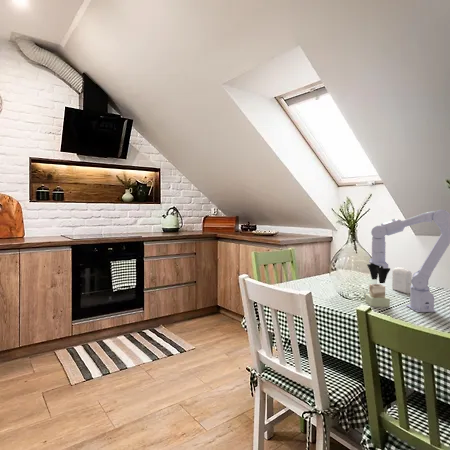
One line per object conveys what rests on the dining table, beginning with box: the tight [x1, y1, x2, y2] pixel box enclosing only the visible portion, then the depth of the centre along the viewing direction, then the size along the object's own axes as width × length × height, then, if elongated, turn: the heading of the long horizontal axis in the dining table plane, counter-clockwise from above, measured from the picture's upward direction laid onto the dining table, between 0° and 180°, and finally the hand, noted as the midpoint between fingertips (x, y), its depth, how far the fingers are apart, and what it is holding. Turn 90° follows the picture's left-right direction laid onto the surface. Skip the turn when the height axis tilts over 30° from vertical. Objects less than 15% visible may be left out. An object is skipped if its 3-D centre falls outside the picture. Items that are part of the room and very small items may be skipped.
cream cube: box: [368, 283, 386, 298], centre depth 160 cm, size 5×5×5 cm
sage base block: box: [365, 293, 391, 308], centre depth 160 cm, size 8×8×4 cm
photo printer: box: [391, 266, 413, 294], centre depth 182 cm, size 10×4×12 cm, turn 17°
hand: (378, 281), depth 160 cm, fingers open, 7 cm apart
